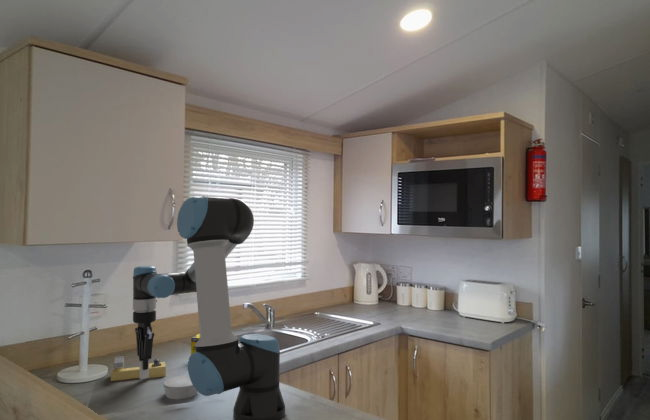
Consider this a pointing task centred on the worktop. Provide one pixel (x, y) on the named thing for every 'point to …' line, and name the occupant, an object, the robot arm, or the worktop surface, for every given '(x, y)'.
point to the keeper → (119, 362)
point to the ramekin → (179, 387)
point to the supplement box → (193, 342)
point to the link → (134, 372)
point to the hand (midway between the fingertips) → (144, 378)
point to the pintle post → (156, 362)
